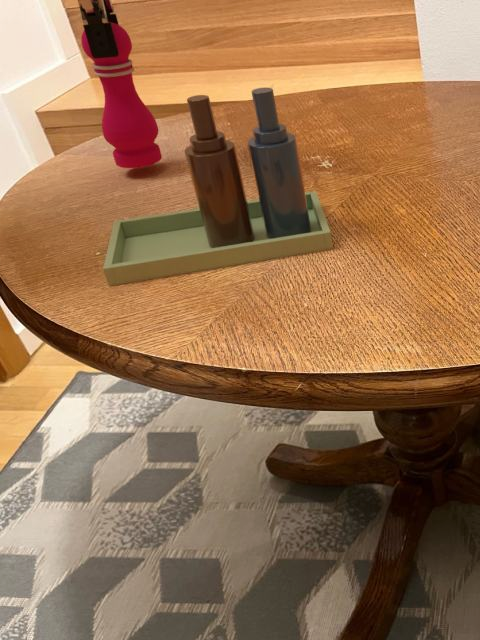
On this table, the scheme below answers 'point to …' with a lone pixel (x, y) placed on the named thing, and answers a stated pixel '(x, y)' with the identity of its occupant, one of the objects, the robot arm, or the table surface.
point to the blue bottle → (277, 171)
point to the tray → (200, 244)
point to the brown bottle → (217, 179)
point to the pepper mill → (124, 107)
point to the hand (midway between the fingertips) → (108, 50)
